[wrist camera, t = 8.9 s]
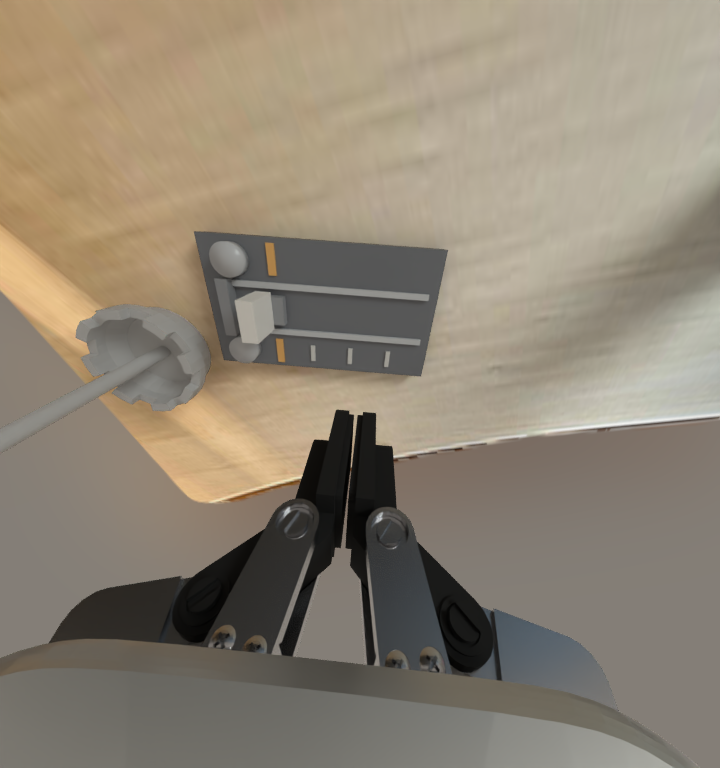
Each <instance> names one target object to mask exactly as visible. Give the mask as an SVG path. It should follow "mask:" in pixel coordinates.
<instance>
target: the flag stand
mask: <svg viewBox="0 0 720 768" xmlns="http://www.w3.org/2000/svg"><path fill="white" fill-rule="evenodd" d="M76 338H77V339H79V340H82V341H84V342H87V346H88V349H89V351H90V354H87V355H85V356H83V357H81V359H82V361H83V363H84V364H85V366H86V368H87V369H88V370H89V372H90V373H91V374H92V376H93V377H94V376H98V375H101V374H104V375H103V376H101V377H99V378H97V379H95V380H93V381H91V382H89V383H87V384H85V385H84V386H82V387H80V388H78V389H76V390H74V391H72V392H70V393H68V394H66V395H64V396H62V397H60V398H58V399H56V400H54V401H52V402H50V403H49V404H46V405H45V406H43V407H41V408H39V409H37V410H35V411H33V412H31V413H29V414H27V415H25V416H23V417H21V418H19V419H17V420H15V421H13V422H11V423H9V424H7V425H5V426H4V427H2V428H0V454H1V453H3V452H4V451H6V450H8V449H10V448H11V447H13V446H15V445H17V444H18V443H20V442H22V441H24V440H25V439H27V438H29V437H30V436H32V435H34V434H36V433H37V432H39V431H41V430H42V429H44V428H46V427H47V426H49V425H51V424H53V423H55V422H56V421H58V420H59V419H61V418H63V417H65V416H67V415H68V414H70V413H72V412H73V411H75V410H77V409H78V408H80V407H82V406H84V405H86V404H87V403H89V402H90V401H92V400H94V399H96V398H98V397H99V396H101V395H103V394H104V393H106V392H108V391H110V390H111V389H113V388H115V387H116V386H117V387H118V388H116V389H115V390H114V391H113V392H112V394H114V395H116V396H117V397H119V398H120V399H122V400H124V401H126V402H128V403H130V404H134V403H135V402H137V401H138V400H142V401H145V402H147V403H151V407H152V410H153V411H170V410H172V409H173V408H175V407H176V406H177V405H180V404H183V403H185V404H186V403H187V402H188V401H189V400H191V399H192V398H193V397H194V396H195V395H196V394H197V393H198V392H199V391H200V390H201V389H202V387H203V384H204V382H205V377H206V374H207V373H208V371H209V369H210V364H211V355H210V351H209V348H208V345H207V343H206V341H205V339H204V338H203V336H202V335H201V334H200V332H199V331H198V330H197V329H196V328H195V327H194V326H193V325H192V324H191V323H190V322H189V321H187V320H186V319H185V318H183V317H182V316H180V315H178V314H177V313H174V312H172V311H170V310H167V309H163V308H159V307H143V306H139V305H131V304H123V305H117V306H112V307H109V308H105V309H101V310H97V311H96V314H95V315H94V316H93V317H92V318H90V319H86V320H83V321H80V323H79V325H78V327H77V330H76Z"/></svg>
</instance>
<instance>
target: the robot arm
mask: <svg viewBox="0 0 720 768" xmlns="http://www.w3.org/2000/svg"><path fill="white" fill-rule="evenodd" d="M353 421H354V415H351V414H349V411H345V410H336V412H335V417H334V421H333V425H332V429H331V433H330V437H329V441H327V440H314V442H313V444H312V447H311V451H310V454H309V457H308V460H307V463H306V466H305V470H304V473H303V476H302V479H301V482H300V486H299V489H298V492H297V495H296V498H295V499H292V500H289V501H287V502H285V503H283V504H282V505H281V506H279V507H278V508H277V509H276V511H275V512H274V513H273V515H272V517H271V519H270V521H269V522H268V524H267V526H266V528H265V529H264V530H262V531H261V532H259V533H258V534H256V535H255V536H253V537H252V538H250V539H249V540H247V541H246V542H244V543H243V544H241V545H240V546H238V547H237V548H235V549H233V550H232V551H230V552H229V553H227V554H226V555H224V556H223V557H222V558H220V559H218V560H217V561H215V562H214V563H212V564H211V565H209V566H208V567H206V568H205V569H203V570H202V571H200V572H199V573H197V574H196V575H195V576H194V577H191V578H185V579H183V578H182V576H178V577H172V578H166V579H159V580H153V581H148V582H141V583H135V584H129V585H123V586H116V587H110V588H106V589H103V590H100V591H97V592H95V593H93V594H91V595H90V596H88V597H86V598H85V599H83V600H82V601H81V602H80V603H79V604H77V605H76V606H75V607H74V608H73V609H72V610H71V611H70V612H69V613H68V615H67V616H66V617H65V619H64V620H63V621H62V622H61V624H60V626H59V627H58V629H57V630H56V632H55V634H54V635H53V637H52V638H51V640H50V642H49V643H48V644H42V645H39V646H35V647H32V648H28V649H24V650H21V651H17V652H15V653H12V654H10V655H7V656H4V657H2V658H0V768H700V767H699V766H698V765H697V764H696V763H694V762H693V761H692V760H691V759H690V758H689V757H687V756H686V755H685V754H684V753H682V752H681V751H680V750H678V749H677V748H676V747H674V746H673V745H672V744H670V743H669V742H668V741H666V740H665V739H664V738H662V737H661V736H659V735H658V734H656V733H655V732H653V731H652V730H650V729H648V728H647V727H645V726H644V725H642V724H640V723H639V722H638V721H636V720H634V719H632V718H630V717H628V716H626V715H624V714H622V713H621V712H619V710H618V707H617V705H616V702H615V699H614V696H613V693H612V690H611V688H610V685H609V682H608V680H607V679H606V676H605V674H604V672H603V670H602V668H601V666H600V665H599V664H598V663H597V661H596V660H595V658H594V657H593V656H592V654H591V653H590V652H589V651H587V650H586V649H585V648H584V647H583V646H582V645H581V644H580V643H578V642H577V641H575V640H573V639H572V638H570V637H568V636H565V635H563V634H560V633H557V632H554V631H552V630H549V629H546V628H544V627H542V626H539V625H536V624H534V623H531V622H528V621H526V620H523V619H521V618H518V617H515V616H513V615H510V614H507V613H505V612H502V611H499V610H497V609H493V610H492V611H491V610H488V609H486V608H483V607H480V605H479V604H478V603H477V602H476V601H475V599H474V598H472V596H470V594H469V593H468V592H467V591H466V590H465V589H464V588H463V587H462V586H461V585H460V584H459V583H457V581H456V580H455V579H454V578H453V577H452V576H451V575H450V574H449V573H448V572H447V571H446V570H445V569H444V568H443V567H441V565H440V564H439V563H438V562H437V561H436V560H435V559H434V558H433V557H432V556H431V555H430V554H429V553H428V552H427V551H426V550H425V549H424V548H423V547H422V546H421V545H420V544H419V543H418V542H417V540H416V536H415V532H414V528H413V526H412V524H411V521H410V520H409V519H408V517H407V516H406V515H405V514H404V513H402V512H401V511H400V510H397V508H396V492H395V479H394V462H393V449H392V446H382V445H376V413H368V412H363V415H358V418H357V427H356V436H355V444H354V453H353V462H352V471H351V479H350V488H349V499H348V515H347V516H348V517H347V533H346V548H347V549H352V550H351V563H350V566H351V568H352V569H353V570H354V572H355V573H356V574H357V576H358V577H359V584H360V599H361V614H362V628H363V642H364V656H365V665H363V664H354V663H345V662H336V661H327V660H318V659H309V658H300V657H296V655H297V651H298V649H299V645H300V642H301V639H302V635H303V632H304V629H305V625H306V622H307V619H308V615H309V612H310V608H311V605H312V602H313V598H314V596H315V592H316V589H317V586H318V582H319V579H320V575H321V572H322V571H324V570H325V569H326V568H327V567H328V566H329V565H330V564H331V561H332V557H334V550H335V547H337V548H341V542H342V534H343V525H344V517H345V508H346V500H347V491H348V484H349V475H350V467H351V454H352V438H353Z"/></svg>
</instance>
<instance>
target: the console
mask: <svg viewBox="0 0 720 768" xmlns="http://www.w3.org/2000/svg"><path fill="white" fill-rule="evenodd" d="M194 234H195V238H196V242H197V247H198V251H199V255H200V260H201V264H202V268H203V272H204V277H205V281H206V285H207V289H208V294H209V298H210V302H211V307H212V311H213V315H214V319H215V324H216V328H217V332H218V336H219V341H220V345H221V349H222V354H223V358H224V360H229V361H239V362H242V363H251V362H254V363H266V364H278V365H290V366H302V367H314V368H326V369H338V370H350V371H362V372H375V373H387V374H399V375H411V376H421V374H422V369H423V365H424V360H425V355H426V350H427V346H428V341H429V336H430V332H431V327H432V322H433V318H434V313H435V308H436V304H437V299H438V294H439V290H440V285H441V280H442V275H443V271H444V266H445V261H446V257H447V252H448V250H444V249H433V248H419V247H406V246H392V245H379V244H365V243H352V242H338V241H325V240H311V239H297V238H284V237H270V236H257V235H243V234H230V233H216V232H196V231H194ZM254 291H262V292H270V293H271V295H278V296H285V300H286V311H287V324H286V325H285V326H282V325H274V328H275V329H274V330H273V331H272V332H271V333H270V334H269V335H268V336H267V337H266V338H264V339H263V340H262V341H261V342H260V343H259V344H253V343H242V338H241V333H240V328H239V322H238V317H237V312H236V306H235V300H237V299H239V298H241V297H243V296H245V295H246V294H248V293H252V292H254Z"/></svg>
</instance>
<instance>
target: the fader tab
mask: <svg viewBox="0 0 720 768" xmlns="http://www.w3.org/2000/svg"><path fill="white" fill-rule="evenodd" d="M235 306H236V312H237V317H238V322H239V328H240V333H241V338H242V343H253V344H259V343H260V342H261V341H262V340H263V339H264V338H266V337H267V336H268V335H269V334H270V333H271V332H272V331H273V330H274V329H275V328H274V325H282V326H285V325H286V324H287V311H286V300H285V296H278V295H271V293H270V292H262V291H254V292H252V293H248V294H246V295H245V296H243V297H241V298H239V299H237V300H235Z"/></svg>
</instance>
